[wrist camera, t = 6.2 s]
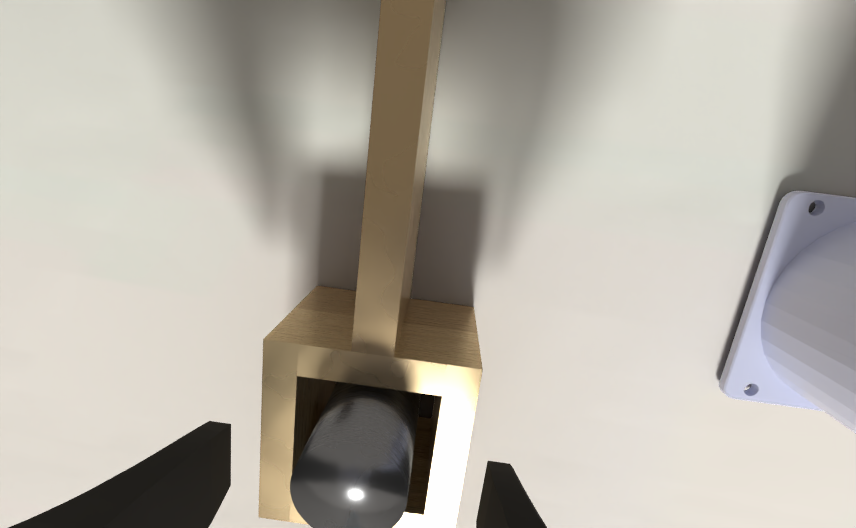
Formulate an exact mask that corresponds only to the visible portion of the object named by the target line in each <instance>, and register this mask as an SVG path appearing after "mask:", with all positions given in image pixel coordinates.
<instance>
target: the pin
mask: <svg viewBox="0 0 856 528" xmlns="http://www.w3.org/2000/svg"><path fill="white" fill-rule="evenodd" d="M420 398H421V393H415V392H408V391H401V390H394V389H387V388H380V387H373V386H365V385H358V384H351V383H344V382H337V383H336V385H335V387H334V389H333V392H332V394H331V396H330V398H329V400H328V402H327V404H326V406H325V408H324V410H323V412H322V414H321V416H320V418H319V420H318V422H317V424H316V426H315V428H314V430H313V432H312V434H311V436H310V438H309V440H308V442H307V444H306V446H305V448H304V450H303V452H302V454H301V456H300V458H299V460H298V462H297V464H296V466H295V468H294V470H293V473H292V476H291V480H290V494H291V498H292V501H293V504H294V506H295V508H296V510H297V512H298V513H299V514H300V516H301V517H302V518H303V519H304V520H305V521H306V522H307V523H308V524H309V525H310V526H311V527H313V528H393V527H394V526H395V525H396V524H397V523H398V522H399V521H400V519H401V518H402V516H403V514H404V512H405V509H406V506H407V500H408V492H409V484H410V476H411V468H412V460H413V453H414V445H415V437H416V429H417V421H418V413H419V405H420Z"/></svg>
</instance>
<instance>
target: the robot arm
mask: <svg viewBox="0 0 856 528" xmlns="http://www.w3.org/2000/svg"><path fill="white" fill-rule="evenodd" d="M812 202H815V209H814V210H813V211H812V212H811V213H809V211H808V210H809V206H810V204H811V203H812ZM749 384H751V387H750V388H749V389H747V390H744V389H745V387H746V386H747V385H749ZM719 387H720V390H721V391H722V392H723V393H724V394H726V395H727V396H728V397H729V398H732V399H738V400H746V401H753V402H760V403H767V404H775V405H782V406H789V407H796V408H803V409H811V410H818V411H824V412H825V413H827V414H828V415H830V416H831V417H833V418H834V419H835V420H837V421H838V422H840V423H841V424H843V425H844V426H845V427H847V428H848V429H850V430H851V431H853V432H854V433H855V434H856V198H854V197H846V196H838V195H831V194H823V193H815V192H807V191H792V192H789V193H787V194H786V195H785V196H784V197H783V198H782V199H781V201H780V203H779V206H778V209H777V212H776V215H775V218H774V221H773V224H772V227H771V230H770V233H769V236H768V239H767V242H766V245H765V248H764V251H763V254H762V257H761V260H760V263H759V266H758V269H757V272H756V275H755V278H754V281H753V284H752V286H751V289H750V292H749V295H748V298H747V301H746V304H745V307H744V310H743V313H742V316H741V319H740V322H739V325H738V328H737V331H736V334H735V337H734V340H733V343H732V346H731V349H730V352H729V355H728V358H727V361H726V364H725V367H724V370H723V373H722V376H721V379H720V382H719ZM230 485H231V424H226V423H219V422H212V421H209V422H207V423H205V424H203V425H202V426H200V427H198V428H196V429H195V430H193V431H191V432H190V433H188V434H186V435H185V436H183V437H182V438H180V439H178V440H177V441H175V442H173V443H172V444H170V445H168V446H167V447H165V448H163V449H162V450H160V451H158V452H157V453H155V454H153V455H152V456H150V457H148V458H147V459H145V460H143V461H141V462H140V463H138V464H136V465H135V466H133V467H131V468H129V469H127V470H126V471H124V472H122V473H120V474H118V475H117V476H115V477H113V478H111V479H109V480H107V481H106V482H104V483H102V484H100V485H98V486H96V487H95V488H93V489H91V490H89V491H87V492H85V493H83V494H81V495H79V496H77V497H75V498H73V499H71V500H69V501H67V502H65V503H63V504H61V505H59V506H56V507H54V508H52V509H50V510H48V511H46V512H44V513H41V514H39V515H37V516H35V517H33V518H30V519H28V520H26V521H23V522H21V523H18V524H16V525H14V526H11V527H9V528H208V527H209V525H210V524H211V522H212V520H213V519H214V517H215V515H216V513H217V511H218V509H219V507H220V505H221V503H222V501H223V499H224V497H225V495H226V493H227V491H228V489H229V487H230ZM476 528H547V527H546V525H545V524H544V522H543V520H542V519H541V517H540V516H539V514H538V512H537V511H536V509H535V507H534V505H533V504H532V502H531V500H530V499H529V497H528V495H527V493H526V491H525V490H524V488H523V486H522V484H521V482H520V480H519V479H518V477H517V475H516V473H515V471H514V469H513V467H512V466H511V465H510V464H507V463H500V462H493V461H488V463H487V468H486V473H485V478H484V484H483V489H482V494H481V499H480V505H479V510H478V515H477V521H476Z"/></svg>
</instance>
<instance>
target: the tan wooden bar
mask: <svg viewBox="0 0 856 528" xmlns="http://www.w3.org/2000/svg"><path fill="white" fill-rule="evenodd" d="M445 5H446V0H381V8H380V20H379V31H378V43H377V55H376V67H375V78H374V90H373V102H372V114H371V125H370V137H369V149H368V161H367V172H366V184H365V196H364V207H363V219H362V231H361V243H360V254H359V266H358V278H357V290H356V291H353V290H345V289H338V288H331V287H323V286H316V287H315V288H314V289H313V290H312V291H311V292H310V293H309V294H308V295H307V296H306V297H305V298H304V299H303V300H302V301H301V302H300V303H299V304H298V305H297V306H296V307H295V308H294V309H293V310H292V311H291V312H290V313H289V314H288V315H287V316H286V317H285V318H284V319H283V320H282V321H281V322H280V323H279V324H278V325H277V326H276V327H275V328H274V329H273V330H272V331H271V332H270V333H269V334H268V335H267V336H266V337H265V338H264V339H263V373H262V410H261V447H260V484H259V517H261V518H267V519H274V520H281V521H288V522H295V523H302V524H308V523H307V522H306V521H305V520H304V519H303V518H302V517H301V516H300V514H299V513H298V512H297V510H296V508H295V506H294V504H293V501H292V498H291V494H290V480H291V476H292V473H293V470H294V468H295V466H296V464H297V462H298V460H299V458H300V456H301V454H302V452H303V450H304V448H305V446H306V444H307V442H308V440H309V438H310V436H311V434H312V432H313V430H314V428H315V426H316V424H317V422H318V420H319V418H320V416H321V414H322V412H323V410H324V408H325V406H326V404H327V402H328V400H329V398H330V396H331V394H332V392H333V389H334V387H335V381H337V382H344V383H351V384H358V385H365V386H373V387H380V388H387V389H394V390H401V391H408V392H415V393H423V394H430V395H435V398H434V405H433V412H432V418H425V417H418V421H417V429H416V437H415V445H414V453H413V460H412V468H411V476H410V484H409V492H408V500H407V506H406V509H405V512H404V514H403V516H402V518H401V519H400V521H399V522H398V523H397V524H396V525H395V526H394V527H393V528H455V525H456V519H457V513H458V507H459V502H460V496H461V490H462V485H463V479H464V473H465V467H466V462H467V456H468V450H469V444H470V439H471V433H472V427H473V421H474V416H475V410H476V404H477V398H478V393H479V387H480V381H481V376H482V370H483V369H482V362H481V355H480V348H479V341H478V334H477V327H476V320H475V313H474V307H471V306H463V305H456V304H449V303H441V302H434V301H426V300H419V299H412V298H410V296H411V288H412V280H413V271H414V263H415V255H416V246H417V238H418V230H419V221H420V213H421V205H422V196H423V188H424V180H425V171H426V163H427V155H428V146H429V138H430V130H431V121H432V113H433V105H434V96H435V88H436V80H437V71H438V63H439V55H440V46H441V38H442V30H443V22H444V13H445ZM308 525H309V524H308Z"/></svg>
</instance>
